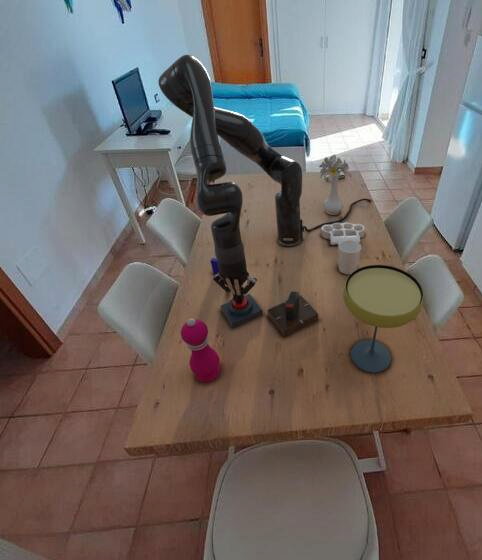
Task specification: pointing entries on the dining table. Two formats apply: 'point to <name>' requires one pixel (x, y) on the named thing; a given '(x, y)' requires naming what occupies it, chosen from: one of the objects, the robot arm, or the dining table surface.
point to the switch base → (301, 320)
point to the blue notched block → (214, 266)
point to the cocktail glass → (380, 308)
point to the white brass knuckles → (342, 232)
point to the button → (240, 306)
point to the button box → (241, 312)
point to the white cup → (348, 256)
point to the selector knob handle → (292, 305)
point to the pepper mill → (200, 350)
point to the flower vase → (333, 183)
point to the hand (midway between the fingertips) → (239, 301)
